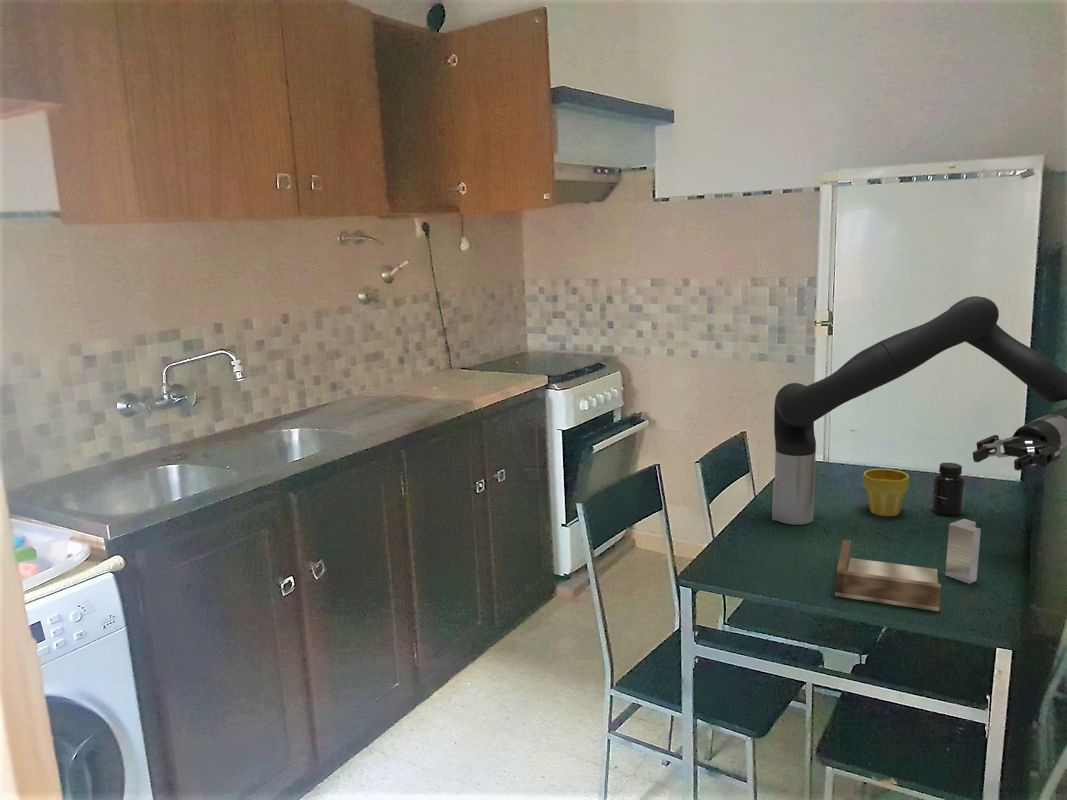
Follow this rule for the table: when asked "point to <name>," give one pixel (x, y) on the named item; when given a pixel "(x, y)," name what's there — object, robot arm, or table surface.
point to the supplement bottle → (948, 490)
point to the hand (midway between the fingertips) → (995, 461)
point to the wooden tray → (886, 582)
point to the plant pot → (885, 490)
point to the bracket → (963, 551)
